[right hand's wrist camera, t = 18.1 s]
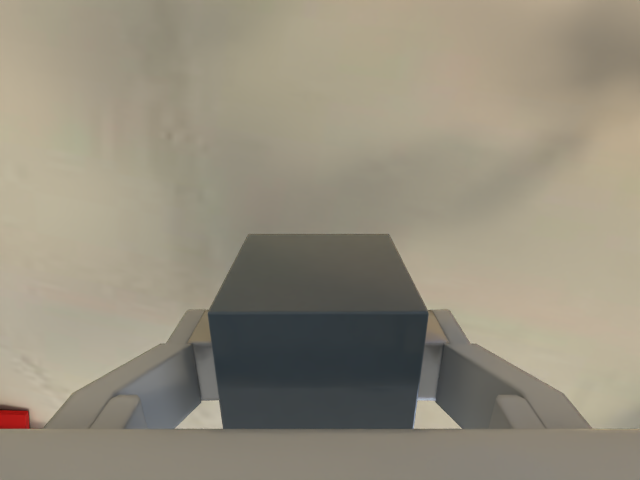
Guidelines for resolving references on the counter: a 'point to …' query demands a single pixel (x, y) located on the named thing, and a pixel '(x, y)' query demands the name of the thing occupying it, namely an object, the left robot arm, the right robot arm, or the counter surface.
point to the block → (318, 334)
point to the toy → (14, 419)
